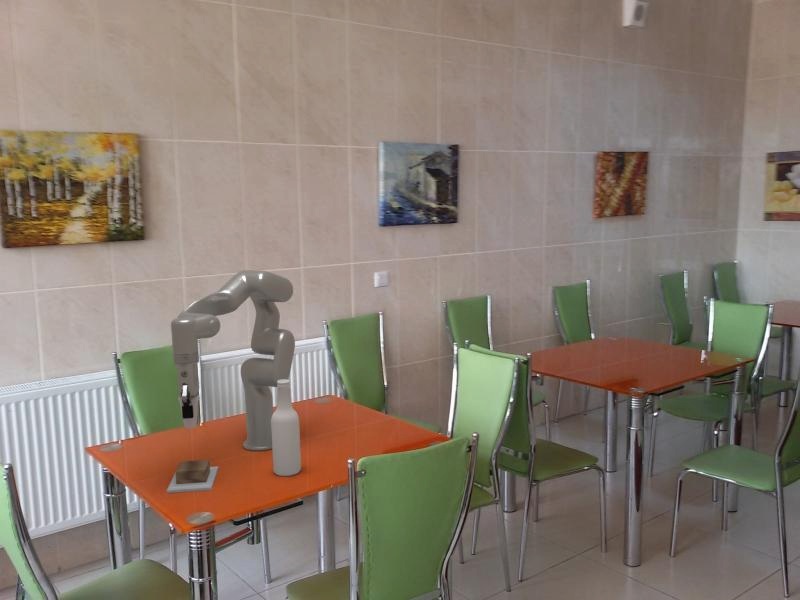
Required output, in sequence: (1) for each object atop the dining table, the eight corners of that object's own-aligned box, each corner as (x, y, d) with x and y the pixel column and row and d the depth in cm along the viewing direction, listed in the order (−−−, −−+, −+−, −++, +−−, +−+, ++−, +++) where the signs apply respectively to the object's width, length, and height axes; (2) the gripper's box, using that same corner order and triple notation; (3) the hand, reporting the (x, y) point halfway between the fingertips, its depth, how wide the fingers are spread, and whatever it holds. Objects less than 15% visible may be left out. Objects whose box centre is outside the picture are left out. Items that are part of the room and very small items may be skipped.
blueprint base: (218, 468, 240) (217, 454, 240) (211, 490, 222) (210, 474, 222) (177, 471, 239) (176, 457, 238) (166, 493, 221) (165, 477, 220)
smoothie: (182, 424, 231) (179, 380, 229) (203, 423, 232) (200, 379, 230) (177, 430, 225) (174, 385, 223) (199, 429, 225) (196, 384, 223)
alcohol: (278, 479, 230) (274, 385, 226) (269, 470, 238) (265, 379, 234) (305, 473, 234) (301, 381, 230) (295, 465, 242) (291, 375, 238)
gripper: (194, 363, 217) (198, 422, 220) (202, 351, 234) (206, 406, 237) (168, 365, 216) (172, 424, 219) (178, 352, 233) (182, 407, 236)
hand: (189, 414), depth 228 cm, fingers closed on smoothie, 6 cm apart
